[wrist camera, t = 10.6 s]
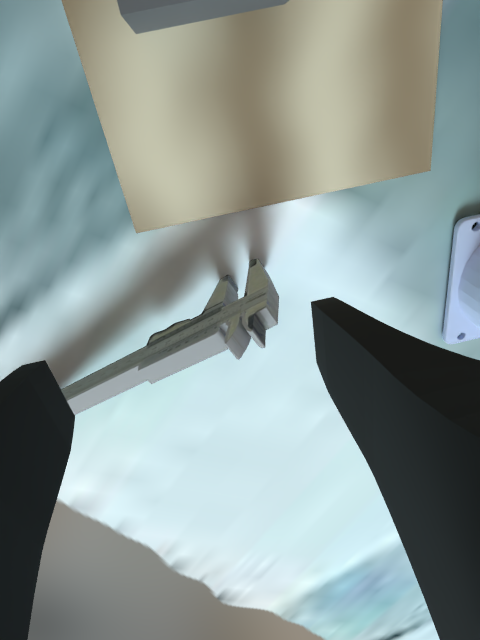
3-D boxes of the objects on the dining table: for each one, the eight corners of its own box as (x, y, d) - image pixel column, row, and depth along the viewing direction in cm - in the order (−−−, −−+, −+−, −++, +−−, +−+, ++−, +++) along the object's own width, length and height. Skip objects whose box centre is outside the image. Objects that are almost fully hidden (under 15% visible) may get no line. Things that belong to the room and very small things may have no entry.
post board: (443, -253, 13) (575, -423, 9) (419, 166, 20) (487, 189, 15) (12, -172, 12) (-75, -308, 8) (138, 226, 19) (126, 266, 15)
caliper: (255, 252, 21) (282, 310, 16) (266, 268, 22) (295, 330, 16) (-30, 437, 25) (-90, 537, 19) (-15, 447, 25) (-69, 547, 20)
